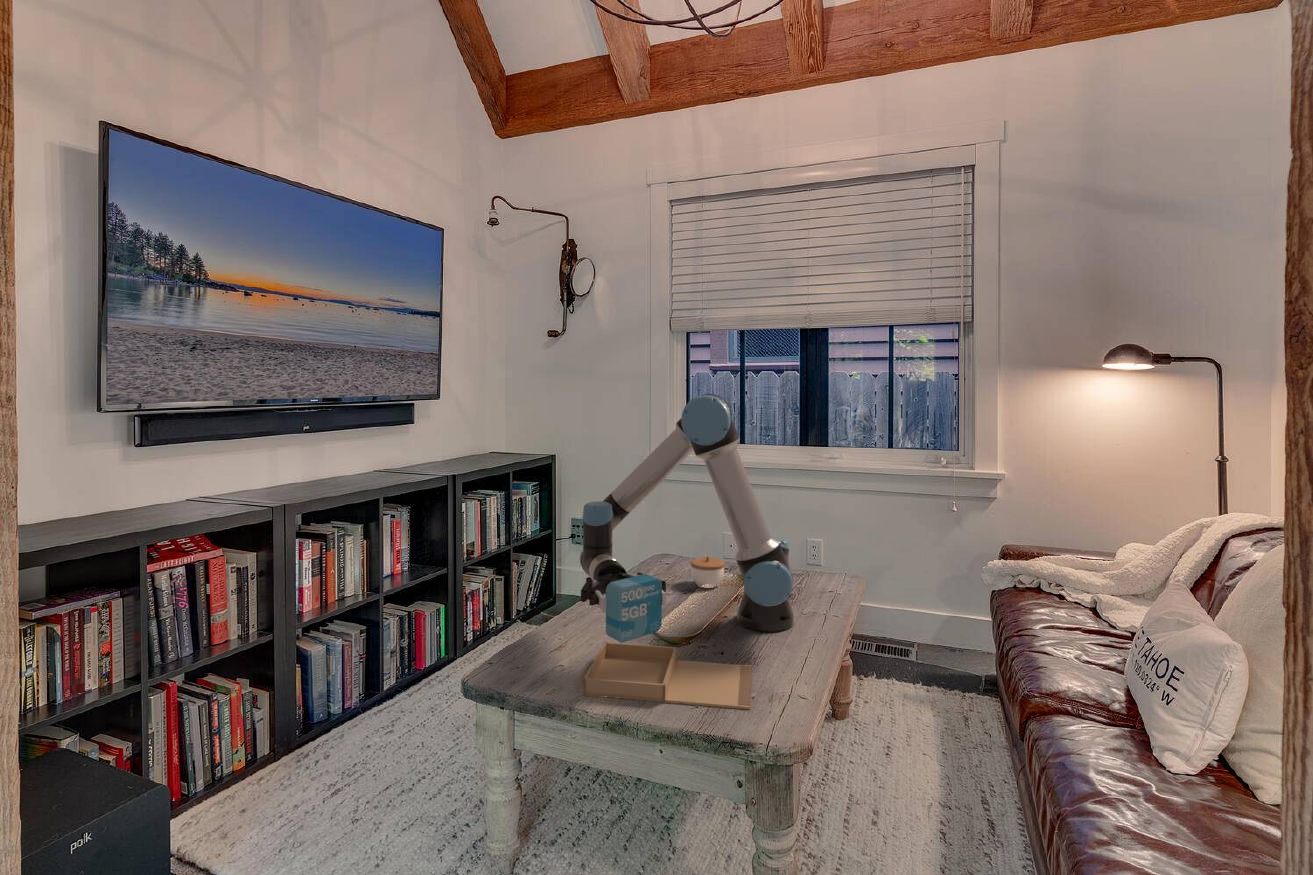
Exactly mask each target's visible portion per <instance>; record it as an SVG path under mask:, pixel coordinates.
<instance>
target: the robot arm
mask: <svg viewBox="0 0 1313 875" xmlns="http://www.w3.org/2000/svg"><path fill="white" fill-rule="evenodd" d="M731 410H732V409H731V408H730V405H729V404H728V402H727V401H726V400H725V399H724V398H723V397H721V396H720V395H717V394H714V393H704V394H700V395H697V396H695V397H694V398H691V399H690V400H689V401H688V402H687V403H686V405H685V406H684V408H683V409H682V413H681V418H680V419H679V420H677V421H676V423H675V429H674V430H673V431H672V432H670V434H669V435H667V437H666V438H664V439H663V441H662V442H660V444H659V445H658V446H656V448H655V449H654V450H652V452H651V453H650V454H648V456H647V457H645V459H644V460H643V461H642V462H640V464H639V465H637V467H636V468H634V469H633V470H632V471H631V472H630V474H628V475H627V476H626V477H625V479H624V480H622V482H620V483H619V484H618V485H617V487H616V488H615V489H613V490H612V491H611V493H610V494H608V495H607V496H606V497H605V498H604V499H603V500H602V501H590V502H587V503H585V504H584V505H583V512H582V513H583V514H582V536H583V537H582V540H583V541H582V542H583V544H582V545H583V546H582V551H581V552H580V555H579V563H580V566H581V568H582V570H583V572H584V573H585V574H586V575H587V576H588V577H586V578H585V583H584V584H583V586H582V588H581V589H580V602H582V603H585V602H587V601H589V605H590V606H596V605H597V607H598V608H599V609H600V610H601V612H602V613H606V612H607V600H606V596H605V595H606V587H607V585H608V584H609V583H610V582H613V581H618V580H622V579H626V578H630V577H634V575H631V574H628V572H627V571H626V569H625V567H624V566H623V565H622V564H621V563H620V562H618V560H617V559H615V558H614V556H613V531H614V529H615V528H616V527H617V526H618V525H620V524H621V522H622V521H623V520H625V518H626V517H627V516H628V515H630V513H632V511H633V510H634V509H635V508H636V507H638V506H639V504H640V503H642V501H644V499H645V498H647V497H648V496H649V495H650V494H651V493H652V492H653V491H654V490H655V489H656V488H657V487H658V486H659V485H660V484H661V483H662V482H663V481H664V480H665V479H666V478H668V476H669V475H670V474H671V473H673V471H674V470H675V469H676V468H678V467H679V466H680V465H681V464H682V463H683V462H684V461H685V460H686V459H687V458H688V457H689V456H690V455H691V454H692V453H693V452H694V455H695V457H698V458H700V459H702V460H703V461H704V463H705V466H706V469H707V471H708V473H709V477H710V479H711V481H712V484H713V488H714V489H715V492H716V495H717V497H718V500H719V502H720V505H721V508H722V510H723V512H724V515H725V517H726V521H727V523H728V525H729V528H730V532H731V534H732V535H733V538H734V542H735V544H736V547H737V548H738V549H737V552H736V554H735V557H734V558H735V561H736V563H737V566H738V568H739V571H740V573H741V577H742V579H743V588H744V589H743V590H744V591H743V595H742V598H741V600H740V603H739V606H738V609H737V612H736V613H737V614H736V622H737V623H738V624H739V625H741V626H742V627H744V628H746V629H749V630H753V631H757V632H767V633H768V632H773V633H774V632H782V631H786V630H788V629H790V628H792V627H793V626H794V620H795V616H794V611H793V608H792V605H791V602H790V598H789V597H790V596H791V593H792V591H793V585H794V576H793V574H792V570H791V566H790V563H789V562H790V560H789V559H790V558H789V557H790V556H789V554H790V553H789V552H790V547H789V546H790V544H789V540H786V539H784V538H780V537H771V533H770V531H769V529H768V525H767V523H766V521H765V518H764V516H763V513H762V510H761V508H760V505H759V502H758V500H757V497H756V495H755V493H754V489H753V487H752V485H751V482H750V479H749V477H748V474H747V471H746V469H745V466H744V464H743V463H744V462H743V461H742V458H741V456H740V454H739V450H738V445H739V443H740V440H741V439H740V435H739V434H738V433H739V432H738V430H737V427H736V425H735V423H734V420H733V417H732V411H731ZM638 575H643V573H642V572H636V576H638ZM660 580H661V579H660ZM661 582H662V606H666V605H667V604H666V603H667V597H666V595H667V593H666V592H667V582H666V580H661Z"/></svg>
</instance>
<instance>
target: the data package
mask: <svg viewBox="0 0 1313 875" xmlns="http://www.w3.org/2000/svg"><path fill="white" fill-rule="evenodd" d="M642 574H643V573H642ZM633 576H634V575H633ZM605 598H606V600H607V612H605V633H606V635H607V636H608V637H610V638H611V639H613V640H616V641H617V642H618V643H626V642H630V641H632V640H636V639H638V638H642V637H644V636H645V637H646V636H648V635H651V634H654V633H657V632H658V631H660V629H661V627H662V622H663V621H662V619H663V617H662V614H663V613H662V610H663V609H662V608H663V607H662V606H663V605H662V582H661V579H660V578H658V577H655V576H652V575H649V574H646V573H644V574H643V575H638V576H637V575H635V576H634V577H630V578H626V579H622V580H618V581H613V582H610V583H609V584H608V585H607V587H606V594H605Z"/></svg>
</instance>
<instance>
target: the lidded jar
mask: <svg viewBox="0 0 1313 875" xmlns="http://www.w3.org/2000/svg"><path fill="white" fill-rule="evenodd" d="M724 573H725V561H724V560H722V559H720V558H717V557H711V556H705V557H696V558H693V559H692V560H690V574H691V578H692V580H693V582H694V583H695V584H696V585H697V588H700V586H703V585H705V584H718V583H719V584H720V583H721V581H722V580H723V578H724ZM719 584H718V585H719Z"/></svg>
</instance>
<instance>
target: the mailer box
mask: <svg viewBox="0 0 1313 875" xmlns="http://www.w3.org/2000/svg"><path fill="white" fill-rule="evenodd" d="M582 680H583V681H582V689H583V691H582V692H583V693H582V694H583V696H584V695H587V696H586V697H596V696H607V697H606V698H608V697H619V698H625V699H624V700H631V699H636V700H635V701H643V700H646V701H647V702H655V701H659V702H658V703H667V702H668V704H679V703H682V704H681V705H691V706H693V705H694V706H704V707H705V706H706V707H715V708H728V709H738V710H751V692H752V665H750V664H749V665H748V664H746V665H745V664H733V663H732V664H731V663H719V662H708V661H707V662H706V661H695V660H680V659H678V647H677V646H663V645H652V644H651V645H647V644H636V643H625V642H623V643H622V642H610V641H609V642H608V641H607V642H606V641H605V642H604V643H603V644H602V647H601V648H600V649H599V651H598V653H597V654H596V657H595V658H594V660H593V662H592V663H591V665H590V667H589V668H588V670H587V671H586V673H585V675H584V677H583V679H582ZM619 698H618V699H619Z"/></svg>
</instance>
